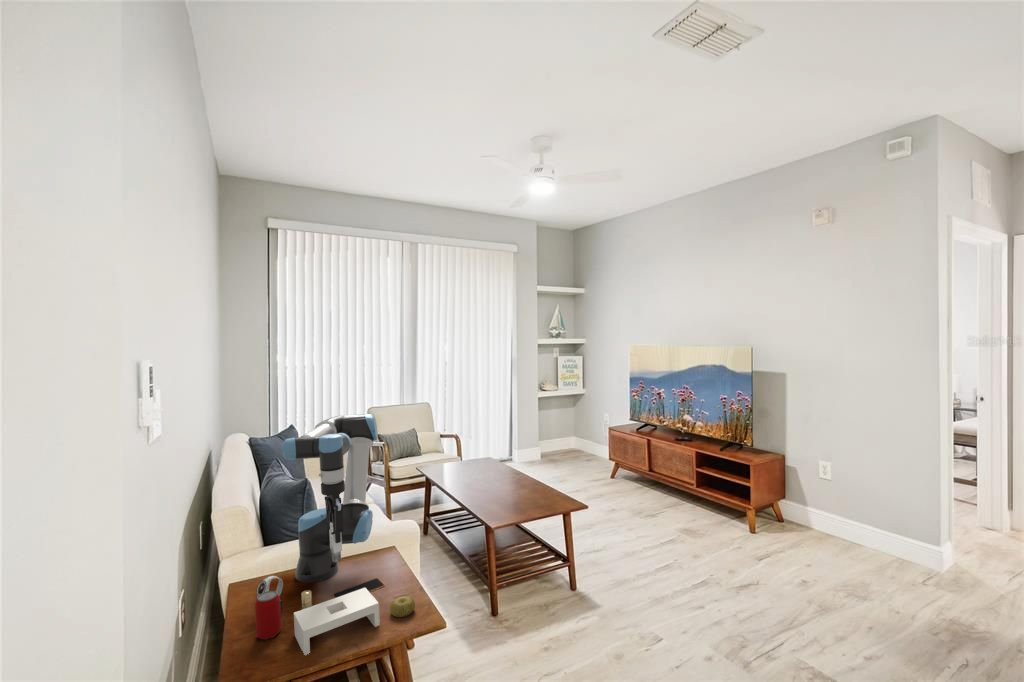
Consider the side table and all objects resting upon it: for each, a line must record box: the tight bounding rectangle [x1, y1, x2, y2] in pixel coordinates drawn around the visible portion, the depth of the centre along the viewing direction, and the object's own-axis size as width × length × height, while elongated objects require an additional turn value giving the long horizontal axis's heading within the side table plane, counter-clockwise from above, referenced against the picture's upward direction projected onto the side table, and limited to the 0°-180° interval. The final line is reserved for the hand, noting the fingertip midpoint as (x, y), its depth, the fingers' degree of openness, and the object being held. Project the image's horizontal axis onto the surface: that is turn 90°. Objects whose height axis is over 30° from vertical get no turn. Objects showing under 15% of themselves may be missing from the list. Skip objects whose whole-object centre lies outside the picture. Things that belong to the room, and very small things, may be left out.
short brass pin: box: [300, 589, 313, 610], centre depth 157 cm, size 3×3×7 cm
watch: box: [255, 575, 284, 612], centre depth 160 cm, size 6×8×11 cm
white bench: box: [293, 588, 381, 656], centre depth 147 cm, size 12×22×7 cm, turn 126°
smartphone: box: [331, 577, 385, 599], centre depth 170 cm, size 8×17×1 cm, turn 128°
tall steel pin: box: [330, 521, 342, 562], centre depth 163 cm, size 3×3×13 cm
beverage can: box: [254, 590, 282, 640], centre depth 147 cm, size 7×7×12 cm
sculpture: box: [389, 595, 416, 618], centre depth 156 cm, size 8×4×8 cm
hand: (336, 549), depth 163 cm, fingers closed on tall steel pin, 3 cm apart
